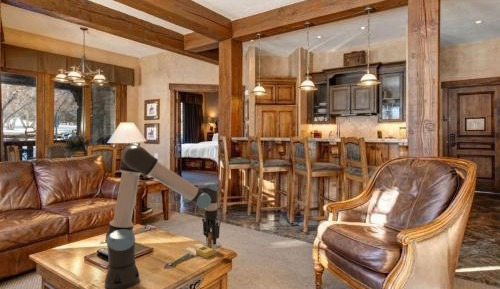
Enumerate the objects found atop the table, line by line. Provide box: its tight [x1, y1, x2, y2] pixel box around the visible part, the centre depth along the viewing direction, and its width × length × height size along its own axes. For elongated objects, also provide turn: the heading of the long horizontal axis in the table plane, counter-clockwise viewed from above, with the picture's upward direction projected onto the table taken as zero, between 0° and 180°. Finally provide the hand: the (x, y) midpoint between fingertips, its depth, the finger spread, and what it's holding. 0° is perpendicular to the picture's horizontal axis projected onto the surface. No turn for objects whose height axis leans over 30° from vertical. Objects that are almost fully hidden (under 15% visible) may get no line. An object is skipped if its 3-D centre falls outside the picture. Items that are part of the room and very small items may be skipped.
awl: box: [208, 230, 212, 249], centre depth 180 cm, size 3×3×10 cm
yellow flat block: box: [196, 245, 215, 259], centre depth 174 cm, size 6×8×3 cm
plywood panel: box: [180, 243, 220, 259], centre depth 179 cm, size 14×18×1 cm
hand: (211, 248), depth 180 cm, fingers closed on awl, 3 cm apart
